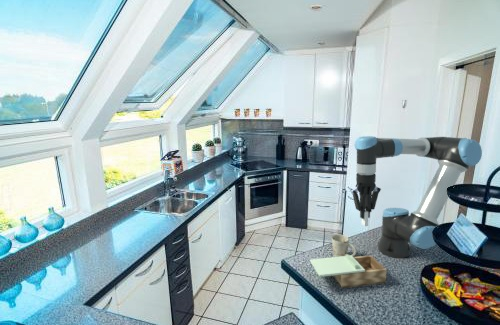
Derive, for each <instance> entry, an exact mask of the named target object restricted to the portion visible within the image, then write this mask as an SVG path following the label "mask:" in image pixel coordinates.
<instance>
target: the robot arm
mask: <svg viewBox="0 0 500 325" xmlns="http://www.w3.org/2000/svg"><path fill="white" fill-rule="evenodd" d="M354 149H355V150H356V176H355V177H356V178H355V179H356V185H355V187H354V188H353V189H352V188H351V189H350V190H349V191H350V193H351V195H352V197H353V202H354V207H355V209H356V210H357V211H359V218H360V219H361V225H362V226H363V227H368V226H369V219H370V218H371V213H372V211H374V210H375V208H376V205H377V202H378V201H377V200H378V197H379V194H380V192H381V190H382V189H381V187H378V186H377V185H376V178H377V176H376V173H377V159H381V158H382V159H383V158H393V157H397V156H400V155H415V156H417V157H424V158H429V159H433V160H437V163H438V165H439V166H438V168H437V170H436V172H435V174H434V175H433V178H432V179H431V181H430V184H429V185H428V188H427V190H426V192H425V193H424V195H423V197H422V199H421V202H420V204H419V205H418V207H417V209H416V210H414V211H411V212H409V210H408V209H406V208H402V207H388V208H386V209H384V210H383V212H382V217H381V218H382V220H381V222H382V224H381V227H382V228H381V235H380V239H379V241H378V243H377V250H378V251H379V252H380V253H381V254H383V255H385V256H387V257H391V258H396V259H404V258H408V257H409V256H410V255H411V247H410V244H411V245H412V246H415V247H417V248H419V249H421V250H422V249H423V250H426V249H430V248H432V247H434V246H435V245H436V244H435V242H434V240H433V237H432V230H433V229H434V228H435V227H436V226H438V225H440V224H439V221H438V218H439V216H440V215H441V212H442V211H443V209H444V207H445V205H446V203H447V201H448V199H449V197H448V195H447V192H446V190H447V188H448V187H450V186H453V185H456V184H457V182H458V180H459V177H460V176H461V173H465V172H467V171H468V170H469V167H473V166H476V165H477V164H479V163H480V161H481V159H482V156H483V155H482V154H483V150H482V147H481V144H480V142H478V141H477V140H475V139H472V138H466V137H453V136H452V137H449V136H448V137H447V136H435V137H434V136H432V137H430V136H429V137H418V138H395V137H391V138H390V137H376V136H372V135H370V136H369V135H367V136H365V135H364V136H359V137H358V138H356V140H355V142H354ZM358 194H359V195H358ZM438 227H439V226H438Z"/></svg>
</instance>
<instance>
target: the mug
mask: <svg viewBox="0 0 500 325" xmlns="http://www.w3.org/2000/svg"><path fill="white" fill-rule="evenodd" d="M349 241H350V240H349V237H348V236H347V235H344V234H334V235H332V236H331V242H332V243H331V244H332V250H333V257H340V256H346V254H348V247H350V248H352V250H353V253H352V254H351V255H352V256H353V257H356V254H357V249H356V247H355V245H353V244H351V243H349ZM348 255H350V254H348Z"/></svg>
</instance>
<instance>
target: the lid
mask: <svg viewBox="0 0 500 325" xmlns="http://www.w3.org/2000/svg"><path fill="white" fill-rule="evenodd" d="M353 257H354V256H352V254H349V255H348V253H347V254H346V256H340V257H335V256H332V257H322V258H312V259H310V260H309V262H310V263H311V265H312V267H313V268H314V270H315V272H316V273H317V275H318V276H319V277H320V278H321V277H331V276H333V275H340V274H349V273H358V272H365V269H364V268H363V267H362V266H361V265H360V264H359V263H358V262H357V261H356V260H355V259H354V258H353Z"/></svg>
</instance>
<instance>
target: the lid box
mask: <svg viewBox="0 0 500 325" xmlns="http://www.w3.org/2000/svg"><path fill="white" fill-rule="evenodd" d="M353 258H354V259H355V260H356V261H357V262H358V263H359V264H360V265H361V266H362V267H363V268H364V269H365V272H358V273H349V274H340V275H332V277H333V278H334V279H335V281H336V282H337V284H338V285H339V287H340V288H341V289H349V288H357V287H365V286H373V285H382V284H386V283H387V268H385V266H383V265H382V264H381V263H380V262H379V261H378V260H377V259H375V257H373V256H372V255H371V254H369V255H363V256H362V255H361V256H360V255H359V256H353Z"/></svg>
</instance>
